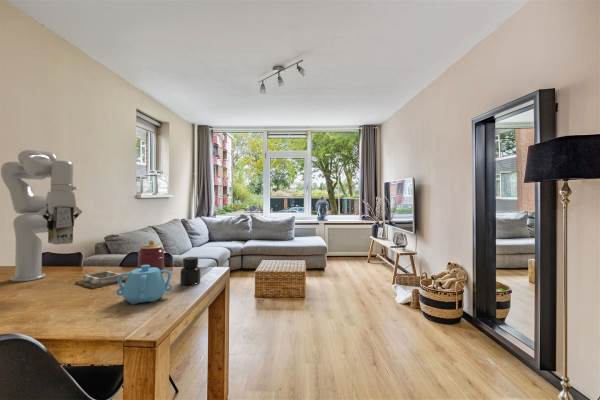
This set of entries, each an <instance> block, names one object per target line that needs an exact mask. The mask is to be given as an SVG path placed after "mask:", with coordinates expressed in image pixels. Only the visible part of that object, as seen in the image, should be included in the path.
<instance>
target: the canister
mask: <svg viewBox="0 0 600 400" xmlns="http://www.w3.org/2000/svg"><path fill="white" fill-rule="evenodd" d="M163 247H164V246H163V245H162V244H160V243H155V241H154V240H149V241H148V243H146V244H145V243H144V244H142V245H141V246H140V247H139V249H140V250H137V253H138V257H137V269H139V268H141V266H142V265H150V267H149V268H151V267H156V268H158V269H159V270H160V271H161V270H165V255H164V253H165V252H166V251H165V250H164V249H163ZM163 273H164V272H162V274H163Z"/></svg>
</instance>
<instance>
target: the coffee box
mask: <svg viewBox="0 0 600 400" xmlns="http://www.w3.org/2000/svg"><path fill="white" fill-rule="evenodd" d="M74 214H75V213H74V207H55V211H54V216H53V219H52V221H53V230H48V232H47V234H48V235H47V236H48V239H47V244H51V245H56V246H57V245H58V246H59V245H66V244H67V245H68V244H69V245H71V244H73V241H74V227H73V216H74Z"/></svg>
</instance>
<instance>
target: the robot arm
mask: <svg viewBox="0 0 600 400" xmlns="http://www.w3.org/2000/svg"><path fill="white" fill-rule="evenodd" d="M17 159H18V161H8V162H4V163H3V164H2V166H1V168H0V175H1V178H2V181H3V183H4V184H5V186H6V188H7V189H8V192H9V193H10V199H11V202H12V206H13V210H14V212H15V213H17V214H18V216H16V217H15V218H14V219H13V223H12V224H13V230H14V234H15V263H14V264H15V265H14V266H15V268H14V269H15V270H14V273H15V275H14V276H11V277H10V281H11V282H27V281H29V282H30V281H35V280H39V279H42V278H45V277H46V273H42V264H43V263H42V261H43V260H42V259H43V257H42V253H43V242H42V239H41V238H40V237H38V235H37V234H40V233H41V234H43V233H48V230H53V221H52V219H53V216H54V211H55V207H74V216H73V228H74V226H75V220H76V219H77V218H78V217H79V216H80V215H81V214H82V213H83V211H82V210H81V209H80V208H79V207H78V206H77V200H76V196H75V192H73V191H75V190H77V187H76V186H74V185H73V183H74V180H73V179H74V178H73V176H74V164H73V162H71V161H67V160H58V159H57V156H56V155H55V154H54V153H53V152H49V151H40V150H34V149H33V150H32V149H26V150H22V151H21V152H19V153H18V156H17ZM47 178H50V191H48V192H47V194H46V195H35V194H34V191H33V188H32V186H30V184H29V183H27V182H26V181H24V180H40V181H41V180H45V179H47ZM23 179H24V180H23Z"/></svg>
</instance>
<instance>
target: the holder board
mask: <svg viewBox="0 0 600 400" xmlns="http://www.w3.org/2000/svg"><path fill="white" fill-rule="evenodd" d="M121 274H122V273H118V272H114V271H109V270H104V271H99V272H95V273H94V272H93V273H88V274H83V279H82V280H77V281H76V280H75V284H76V285H79V286H82V287H85V288H88V289H92V290H95V289H98V288H104V287H107V286H113V285H117V284H118V277H119V276H120V275H121ZM127 278H128V277H124V276H122V277H121V282H122V283H125V282H126V280H127Z"/></svg>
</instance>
